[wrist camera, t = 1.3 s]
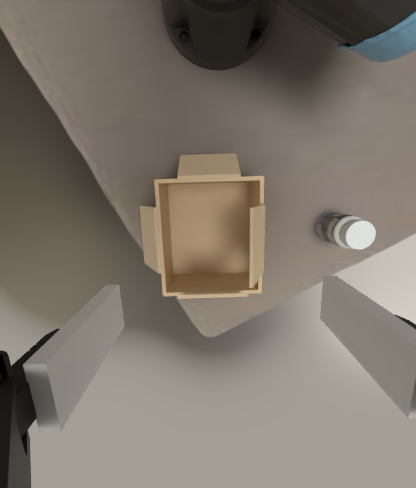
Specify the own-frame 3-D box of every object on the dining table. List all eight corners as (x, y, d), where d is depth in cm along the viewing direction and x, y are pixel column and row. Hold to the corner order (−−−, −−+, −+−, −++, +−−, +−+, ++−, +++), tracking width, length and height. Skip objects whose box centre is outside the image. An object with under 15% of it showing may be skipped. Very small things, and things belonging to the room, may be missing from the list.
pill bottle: (348, 217, 40) (385, 224, 31) (336, 243, 41) (369, 257, 32) (322, 208, 39) (353, 212, 31) (310, 234, 40) (337, 246, 32)
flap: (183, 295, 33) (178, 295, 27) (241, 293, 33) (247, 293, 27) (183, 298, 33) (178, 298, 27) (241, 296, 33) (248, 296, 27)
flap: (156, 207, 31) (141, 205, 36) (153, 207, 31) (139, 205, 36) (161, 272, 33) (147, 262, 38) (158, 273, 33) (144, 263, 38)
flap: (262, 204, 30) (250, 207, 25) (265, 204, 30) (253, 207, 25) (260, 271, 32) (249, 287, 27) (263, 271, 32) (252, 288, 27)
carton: (164, 181, 38) (153, 179, 30) (252, 179, 38) (264, 176, 30) (170, 276, 42) (162, 296, 34) (251, 273, 42) (261, 293, 34)
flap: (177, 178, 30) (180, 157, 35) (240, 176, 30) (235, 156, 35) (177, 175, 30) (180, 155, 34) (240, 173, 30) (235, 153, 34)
